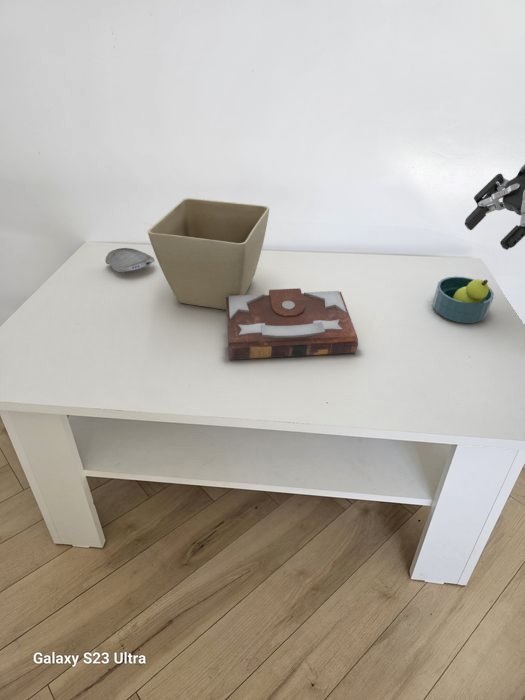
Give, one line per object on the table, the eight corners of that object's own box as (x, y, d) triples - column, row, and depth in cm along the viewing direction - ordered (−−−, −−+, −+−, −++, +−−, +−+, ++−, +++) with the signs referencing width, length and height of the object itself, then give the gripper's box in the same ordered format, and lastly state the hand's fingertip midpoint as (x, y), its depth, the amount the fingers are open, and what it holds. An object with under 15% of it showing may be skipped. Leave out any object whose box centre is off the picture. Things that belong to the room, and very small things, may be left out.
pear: (477, 308, 95) (505, 282, 87) (463, 323, 93) (491, 297, 85) (456, 291, 96) (482, 264, 88) (442, 305, 94) (468, 278, 86)
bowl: (493, 309, 95) (501, 288, 92) (473, 332, 89) (481, 310, 86) (445, 291, 101) (451, 271, 98) (422, 311, 95) (428, 290, 92)
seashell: (97, 276, 105) (93, 256, 102) (114, 259, 112) (110, 240, 109) (146, 281, 104) (143, 261, 100) (160, 264, 110) (157, 245, 107)
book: (229, 364, 82) (228, 344, 79) (226, 310, 94) (225, 290, 90) (355, 357, 84) (359, 337, 81) (337, 305, 95) (340, 285, 92)
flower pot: (191, 266, 109) (184, 196, 99) (269, 276, 106) (270, 205, 95) (157, 309, 95) (145, 232, 84) (246, 323, 91) (244, 244, 81)
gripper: (518, 135, 80) (448, 209, 83) (593, 158, 69) (509, 241, 73) (530, 164, 85) (463, 232, 88) (601, 188, 74) (522, 265, 78)
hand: (484, 236), depth 81 cm, fingers open, 8 cm apart
